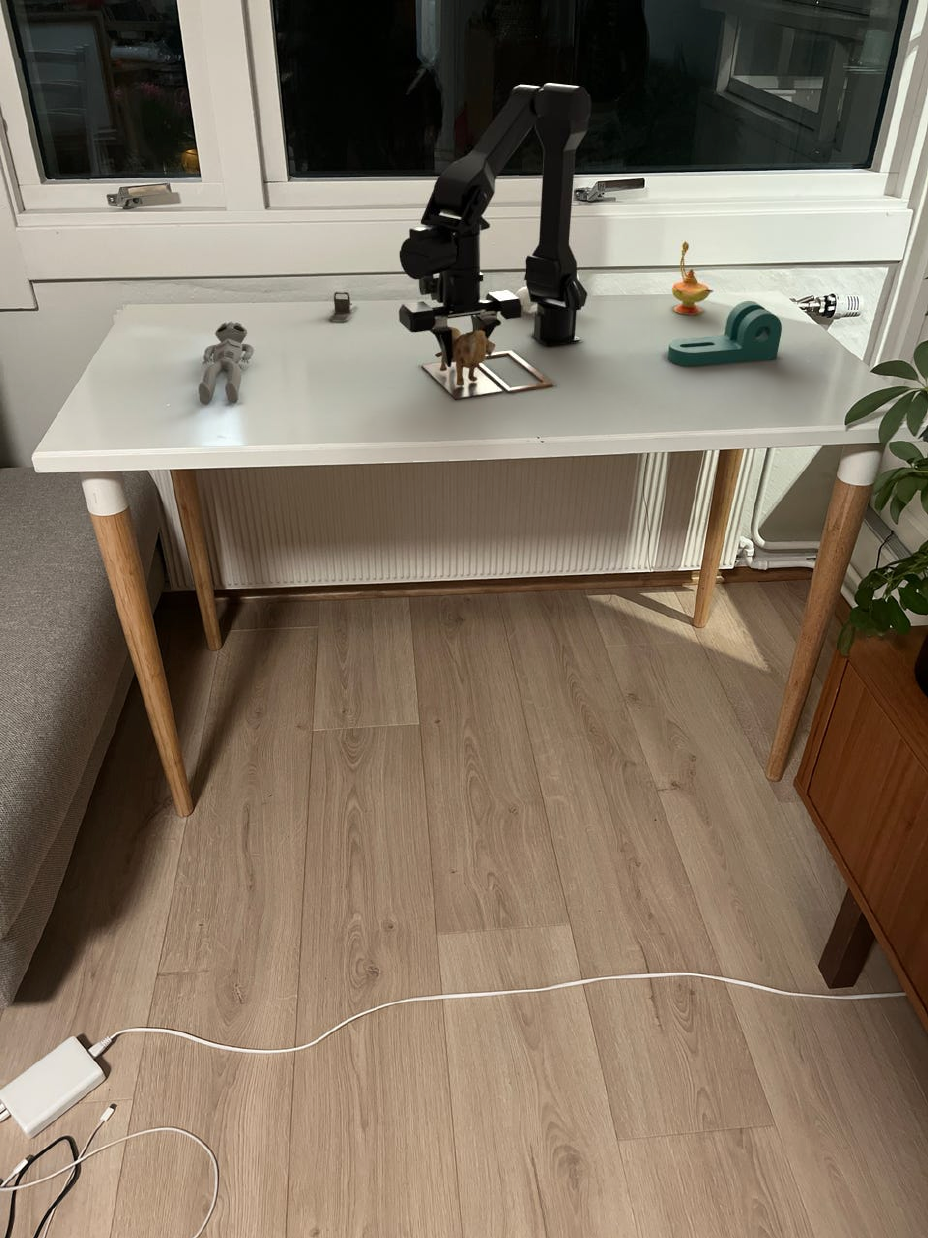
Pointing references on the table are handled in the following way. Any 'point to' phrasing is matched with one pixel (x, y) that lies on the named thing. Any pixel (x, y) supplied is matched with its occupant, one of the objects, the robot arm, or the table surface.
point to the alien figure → (225, 361)
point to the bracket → (733, 339)
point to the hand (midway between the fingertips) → (461, 364)
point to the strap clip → (342, 308)
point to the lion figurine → (467, 352)
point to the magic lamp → (689, 289)
